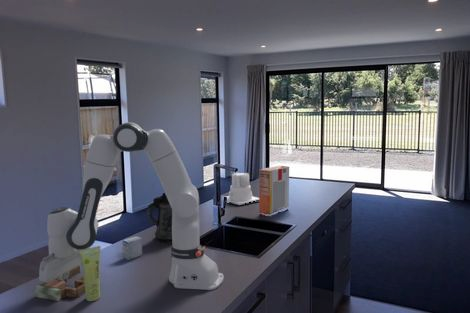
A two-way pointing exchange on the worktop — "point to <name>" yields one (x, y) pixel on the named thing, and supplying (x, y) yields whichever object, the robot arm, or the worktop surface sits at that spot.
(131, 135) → the robot arm
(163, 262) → the worktop surface
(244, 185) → the recessed light fixture
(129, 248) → the medicine box
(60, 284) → the terracotta block
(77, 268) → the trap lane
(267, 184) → the pasta box
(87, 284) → the tube
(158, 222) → the beer stein
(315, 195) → the worktop surface
